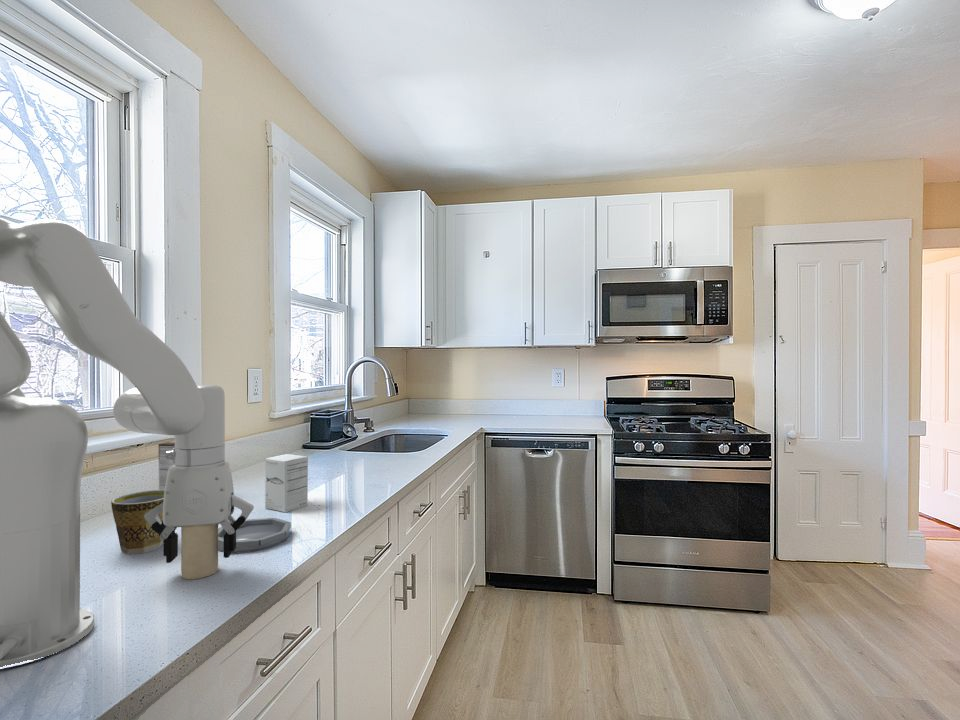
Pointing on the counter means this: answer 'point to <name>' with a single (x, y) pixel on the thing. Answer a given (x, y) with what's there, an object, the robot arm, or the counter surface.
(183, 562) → the candle
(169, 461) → the coffee box
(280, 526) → the slate dish
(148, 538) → the ceramic cup
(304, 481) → the supplement box
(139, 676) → the counter surface
